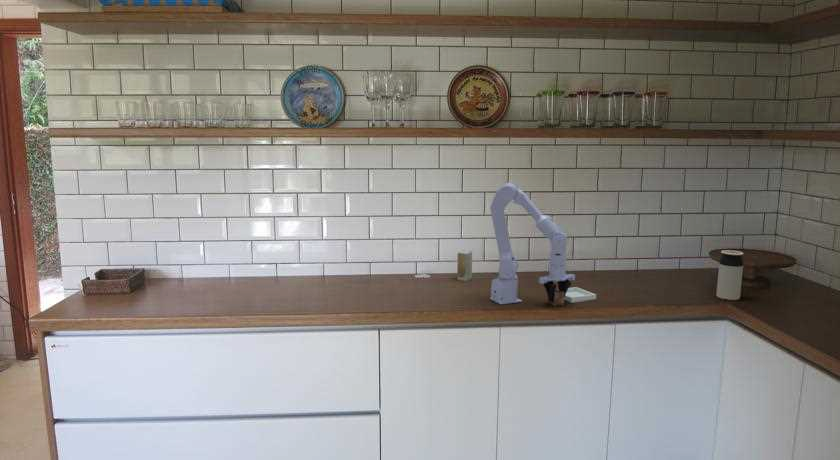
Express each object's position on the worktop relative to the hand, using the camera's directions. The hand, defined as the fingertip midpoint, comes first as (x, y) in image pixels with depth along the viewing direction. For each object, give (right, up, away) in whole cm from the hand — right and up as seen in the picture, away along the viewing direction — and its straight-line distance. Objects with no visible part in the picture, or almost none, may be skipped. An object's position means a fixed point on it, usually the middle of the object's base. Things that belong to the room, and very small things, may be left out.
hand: (556, 300), depth 204 cm
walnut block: (0, -1, 0) cm, 1 cm away
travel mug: (+69, 0, +10) cm, 69 cm away
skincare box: (-31, +4, +37) cm, 48 cm away
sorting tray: (+9, 0, +9) cm, 13 cm away
